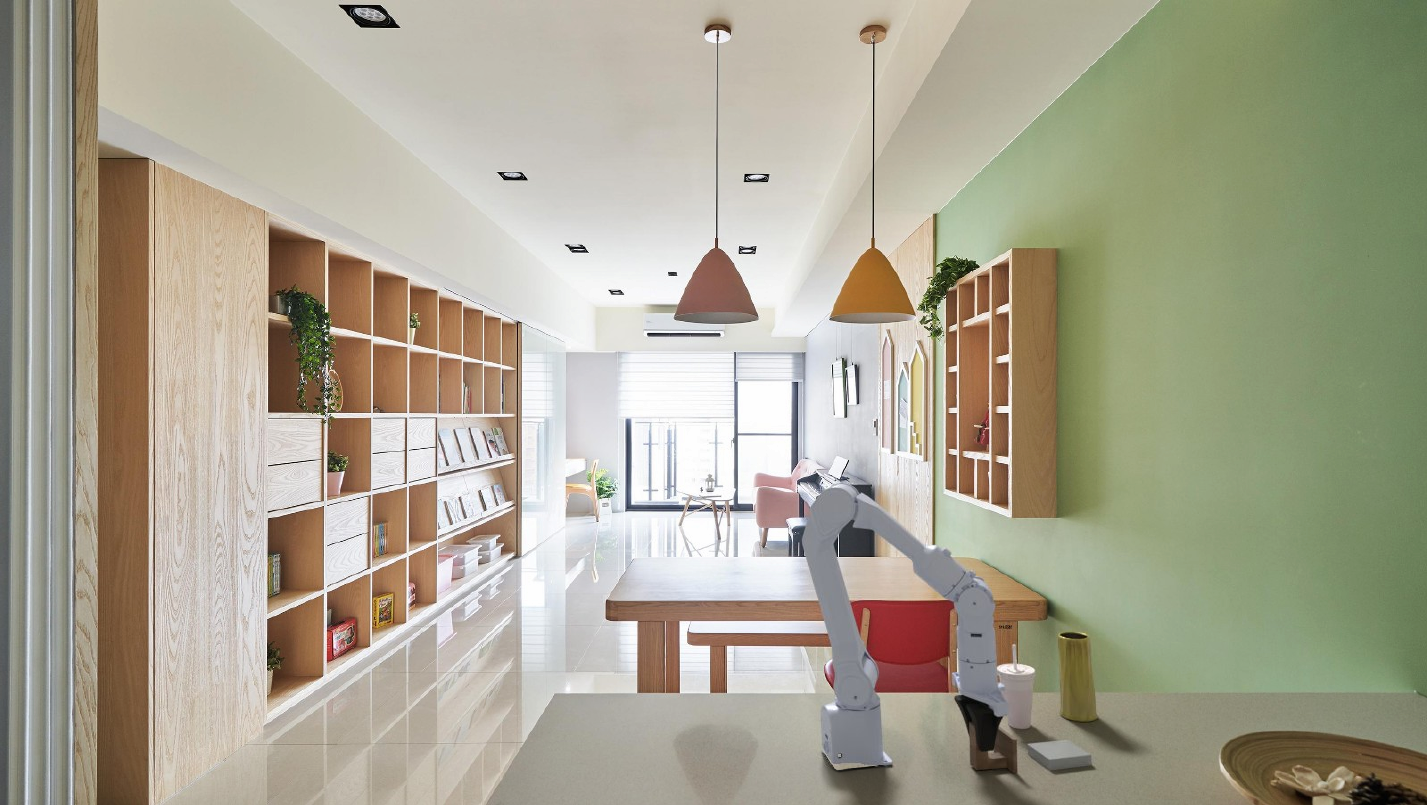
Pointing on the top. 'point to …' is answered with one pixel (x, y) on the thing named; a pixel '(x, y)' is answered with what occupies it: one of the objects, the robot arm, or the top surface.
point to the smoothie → (1017, 691)
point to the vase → (1076, 677)
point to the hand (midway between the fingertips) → (982, 746)
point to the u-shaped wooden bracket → (1002, 752)
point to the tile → (1059, 754)
